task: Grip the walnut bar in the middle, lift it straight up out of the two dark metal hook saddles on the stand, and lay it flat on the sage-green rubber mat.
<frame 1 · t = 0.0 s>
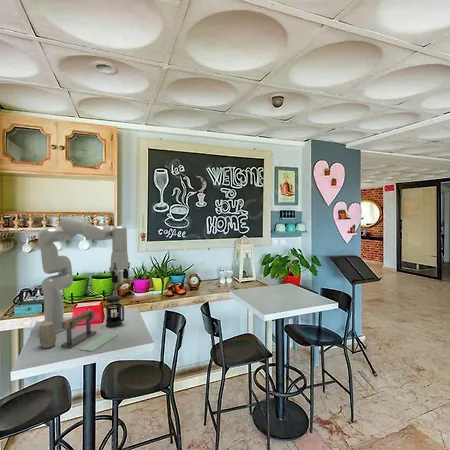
hand: (120, 280, 159), 31 cm above the table, tool pointing down, fingers open, 9 cm apart
carving: (47, 346, 150), on the table
rail stand: (79, 340, 157), on the table
bar: (79, 321, 157), point 10 cm above the table, touching rail stand
mat: (99, 342, 154), on the table
french press: (114, 325, 179), on the table
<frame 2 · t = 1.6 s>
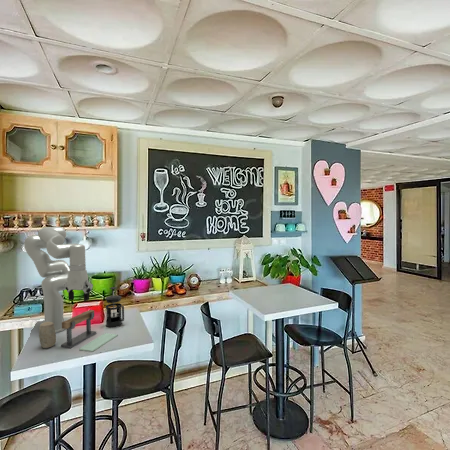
hand: (78, 299, 156), 22 cm above the table, tool pointing down, fingers open, 9 cm apart
nothing on the table moved.
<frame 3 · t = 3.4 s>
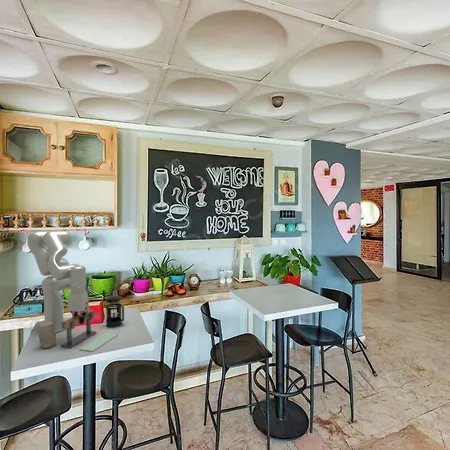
hand: (79, 323, 157), 9 cm above the table, tool pointing down, fingers closed on bar, 3 cm apart
bar: (79, 321, 157), point 10 cm above the table, touching gripper, rail stand
everything else where it was.
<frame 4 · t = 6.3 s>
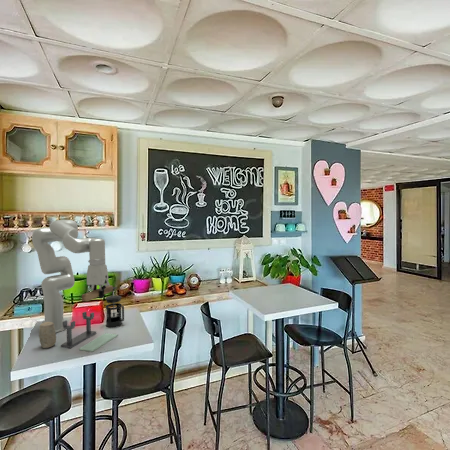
hand: (98, 297, 153), 24 cm above the table, tool pointing down, fingers closed on bar, 3 cm apart
bar: (98, 295, 153), point 25 cm above the table, touching gripper
everything else where it was.
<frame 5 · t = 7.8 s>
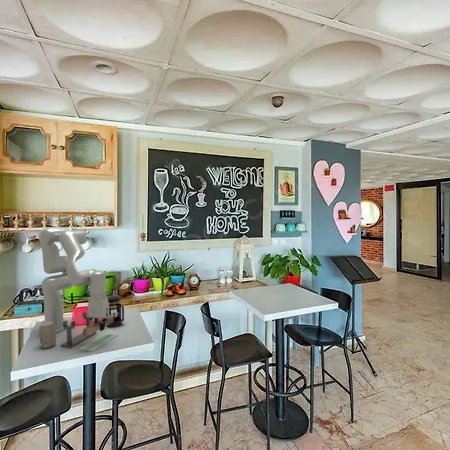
hand: (99, 329, 154), 7 cm above the table, tool pointing down, fingers closed on bar, 3 cm apart
bar: (99, 328, 154), point 8 cm above the table, touching gripper
everything else where it was.
when the fingers open (2 cm above the table, at t = 9.2 s): bar drops 2 cm, resting on mat.
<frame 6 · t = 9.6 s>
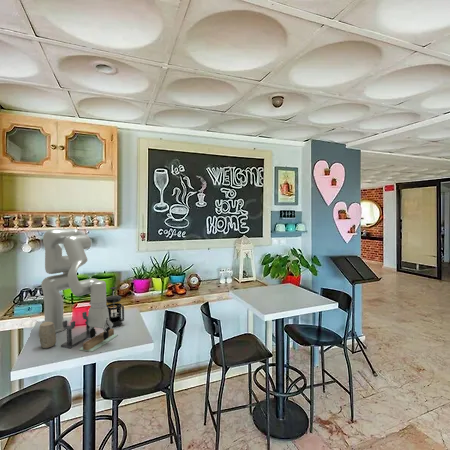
hand: (99, 337, 154), 2 cm above the table, tool pointing down, fingers open, 7 cm apart
bar: (99, 341, 154), point 1 cm above the table, touching mat
everything else where it was.
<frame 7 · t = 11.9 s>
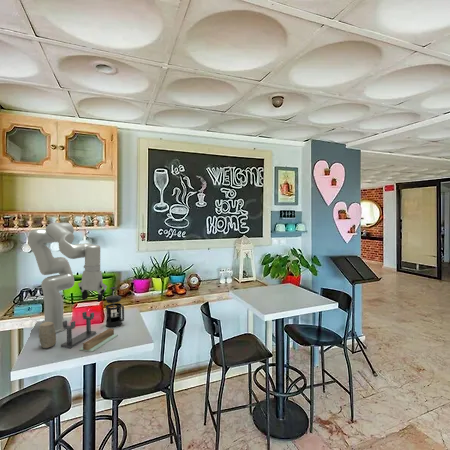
hand: (92, 300, 157), 22 cm above the table, tool pointing down, fingers open, 9 cm apart
nothing on the table moved.
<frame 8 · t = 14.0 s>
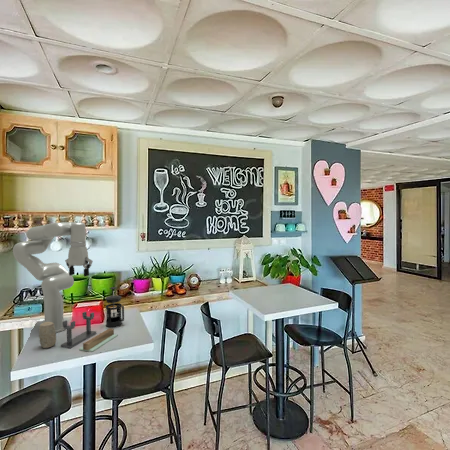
hand: (79, 275, 164), 33 cm above the table, tool pointing down, fingers open, 9 cm apart
nothing on the table moved.
at the end: bar 0.0 cm off-centre on the mat, point 0.6 cm above the mat's base; bar touching mat; the gripper is holding nothing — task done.
